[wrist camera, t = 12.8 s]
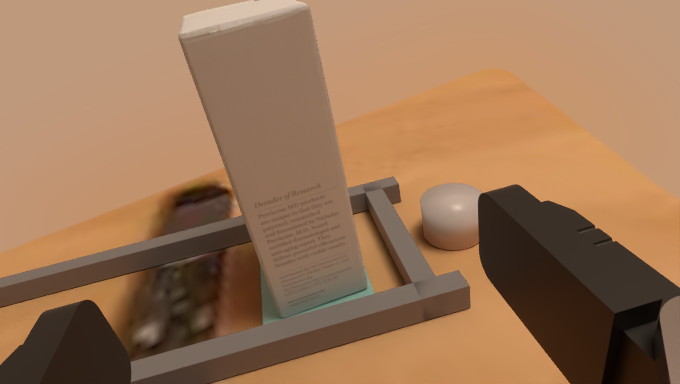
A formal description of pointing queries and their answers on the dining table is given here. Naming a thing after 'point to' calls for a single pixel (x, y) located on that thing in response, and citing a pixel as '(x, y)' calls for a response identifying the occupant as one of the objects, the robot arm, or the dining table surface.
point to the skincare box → (278, 145)
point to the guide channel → (276, 332)
